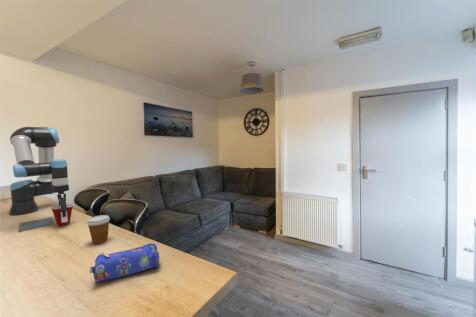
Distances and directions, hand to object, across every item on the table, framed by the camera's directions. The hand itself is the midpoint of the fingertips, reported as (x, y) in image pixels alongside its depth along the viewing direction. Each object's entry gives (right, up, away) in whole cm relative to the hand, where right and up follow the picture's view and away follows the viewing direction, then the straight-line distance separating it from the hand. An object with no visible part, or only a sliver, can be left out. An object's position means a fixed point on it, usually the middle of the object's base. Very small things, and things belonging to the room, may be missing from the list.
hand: (63, 219), depth 127 cm
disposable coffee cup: (+38, -5, -23) cm, 44 cm away
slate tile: (-18, -4, +1) cm, 18 cm away
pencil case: (+65, -6, -49) cm, 82 cm away
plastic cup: (0, -4, 0) cm, 4 cm away
